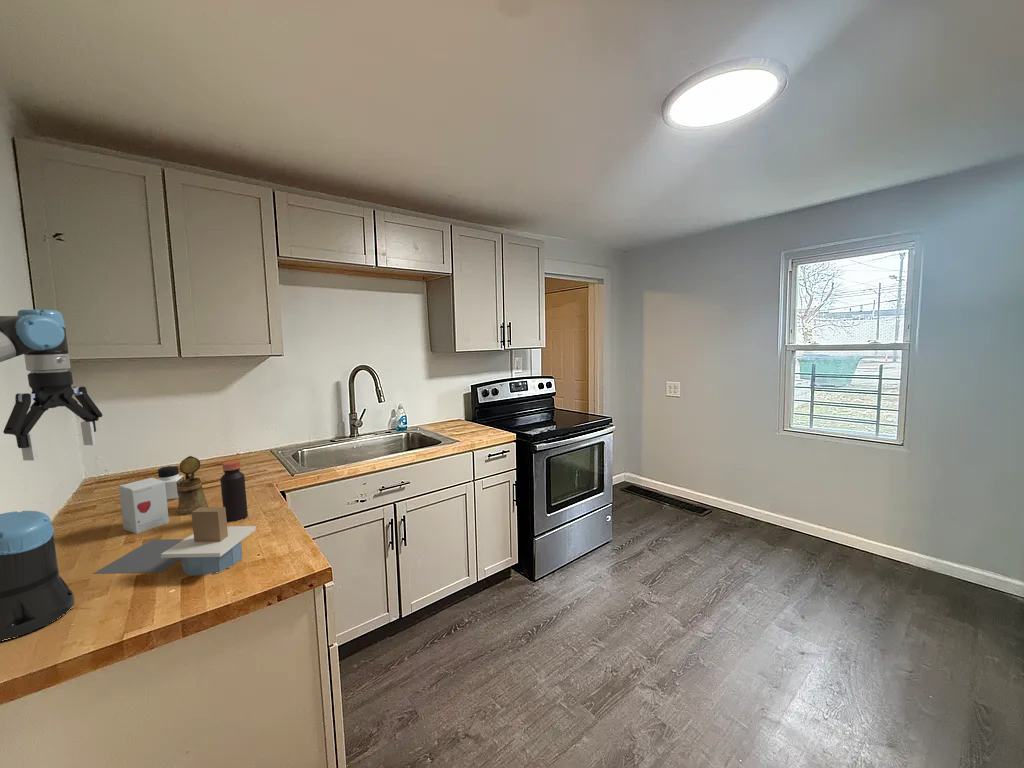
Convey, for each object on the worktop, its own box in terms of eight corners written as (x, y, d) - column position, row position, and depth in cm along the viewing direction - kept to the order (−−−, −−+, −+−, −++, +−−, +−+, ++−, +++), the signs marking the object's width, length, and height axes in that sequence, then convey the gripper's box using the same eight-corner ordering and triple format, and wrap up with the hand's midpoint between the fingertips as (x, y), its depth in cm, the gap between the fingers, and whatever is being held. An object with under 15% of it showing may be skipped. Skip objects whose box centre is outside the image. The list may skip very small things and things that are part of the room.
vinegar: (236, 524, 136) (230, 466, 134) (219, 522, 138) (213, 464, 135) (252, 515, 143) (248, 459, 141) (236, 513, 144) (231, 458, 142)
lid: (220, 556, 105) (217, 521, 104) (161, 557, 104) (157, 522, 103) (255, 529, 120) (253, 498, 118) (204, 530, 119) (201, 498, 118)
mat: (162, 574, 108) (162, 572, 107) (92, 575, 107) (92, 573, 107) (211, 540, 125) (210, 538, 125) (151, 541, 125) (151, 539, 125)
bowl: (221, 576, 106) (219, 554, 106) (171, 577, 106) (168, 555, 105) (252, 550, 119) (250, 530, 119) (207, 551, 119) (205, 531, 118)
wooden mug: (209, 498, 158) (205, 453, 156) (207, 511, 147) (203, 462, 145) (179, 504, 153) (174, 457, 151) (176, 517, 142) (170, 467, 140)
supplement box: (136, 535, 129) (130, 490, 127) (122, 529, 133) (117, 485, 131) (170, 523, 137) (165, 480, 135) (156, 518, 141) (152, 476, 139)
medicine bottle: (178, 498, 158) (175, 468, 157) (155, 501, 156) (152, 470, 154) (185, 492, 165) (182, 463, 164) (163, 494, 162) (160, 465, 161)
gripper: (0, 376, 92) (16, 467, 94) (113, 366, 116) (122, 439, 119) (-31, 376, 92) (-15, 467, 95) (88, 367, 117) (98, 439, 119)
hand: (62, 452), depth 107 cm, fingers open, 13 cm apart
